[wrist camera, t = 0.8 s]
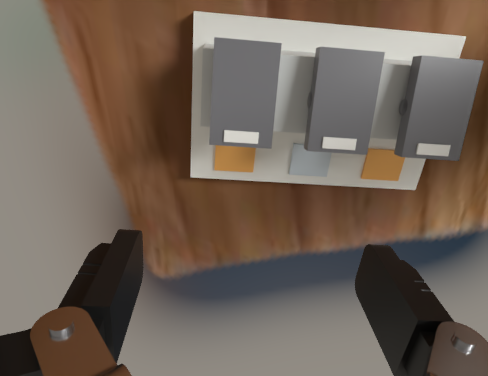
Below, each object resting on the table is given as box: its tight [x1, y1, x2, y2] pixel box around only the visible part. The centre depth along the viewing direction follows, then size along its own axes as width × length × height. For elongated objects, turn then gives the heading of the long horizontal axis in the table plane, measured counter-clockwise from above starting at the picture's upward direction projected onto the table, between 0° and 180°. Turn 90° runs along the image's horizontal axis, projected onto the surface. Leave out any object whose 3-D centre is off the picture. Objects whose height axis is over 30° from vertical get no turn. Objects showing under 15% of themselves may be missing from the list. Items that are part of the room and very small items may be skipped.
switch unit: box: [190, 11, 466, 190], centre depth 30 cm, size 22×14×6 cm, turn 85°
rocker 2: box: [394, 55, 483, 161], centre depth 26 cm, size 4×7×2 cm, turn 175°
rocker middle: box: [304, 47, 385, 155], centre depth 25 cm, size 4×7×2 cm, turn 175°
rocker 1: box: [209, 37, 282, 149], centre depth 25 cm, size 4×7×2 cm, turn 175°
